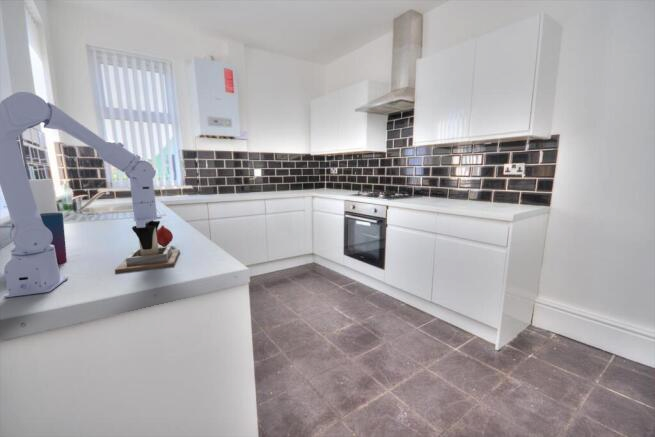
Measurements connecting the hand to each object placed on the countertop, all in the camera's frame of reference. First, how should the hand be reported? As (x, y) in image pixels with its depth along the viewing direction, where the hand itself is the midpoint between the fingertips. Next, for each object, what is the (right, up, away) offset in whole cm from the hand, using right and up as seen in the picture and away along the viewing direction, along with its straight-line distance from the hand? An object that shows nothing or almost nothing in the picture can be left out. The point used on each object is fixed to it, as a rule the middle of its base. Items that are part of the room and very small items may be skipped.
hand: (149, 247), depth 87 cm
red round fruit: (-5, -2, +18) cm, 19 cm away
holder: (0, -4, +1) cm, 4 cm away
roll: (0, -2, 0) cm, 2 cm away
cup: (-29, -5, +1) cm, 29 cm away
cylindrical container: (-37, -4, +7) cm, 38 cm away
